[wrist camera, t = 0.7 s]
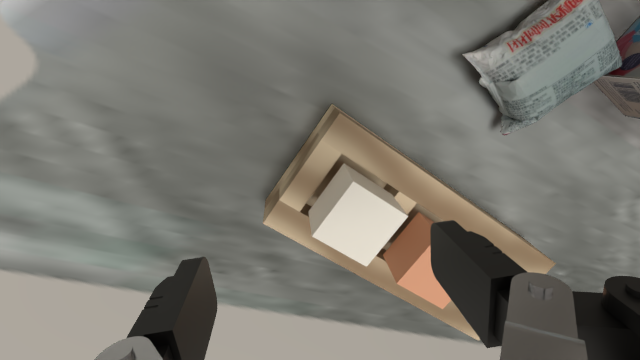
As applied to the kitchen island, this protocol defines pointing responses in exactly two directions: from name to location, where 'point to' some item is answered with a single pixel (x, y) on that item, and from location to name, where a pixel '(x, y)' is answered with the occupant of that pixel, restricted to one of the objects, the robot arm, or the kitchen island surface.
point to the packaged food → (546, 60)
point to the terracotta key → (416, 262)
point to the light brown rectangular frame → (407, 188)
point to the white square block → (355, 216)
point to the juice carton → (625, 74)
